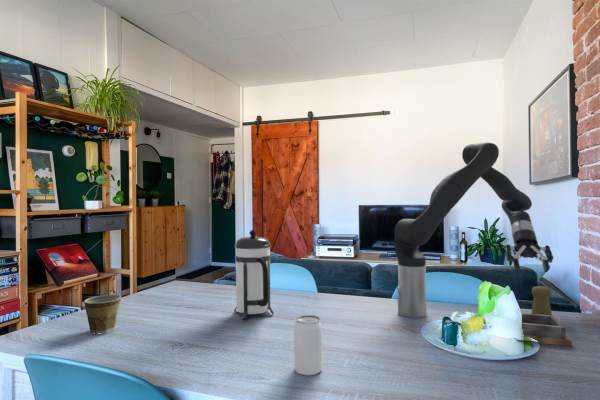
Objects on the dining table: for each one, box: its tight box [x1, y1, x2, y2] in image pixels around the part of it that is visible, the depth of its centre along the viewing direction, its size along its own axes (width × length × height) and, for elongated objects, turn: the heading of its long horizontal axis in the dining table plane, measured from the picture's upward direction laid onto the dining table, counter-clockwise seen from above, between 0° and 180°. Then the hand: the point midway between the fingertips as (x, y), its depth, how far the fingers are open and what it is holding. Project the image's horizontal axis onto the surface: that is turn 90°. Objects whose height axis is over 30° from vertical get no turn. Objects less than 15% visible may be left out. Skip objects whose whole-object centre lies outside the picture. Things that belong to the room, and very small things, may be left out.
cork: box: [530, 285, 553, 316], centre depth 115 cm, size 6×6×11 cm
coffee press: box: [233, 229, 275, 321], centre depth 125 cm, size 17×16×30 cm
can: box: [293, 314, 323, 377], centre depth 83 cm, size 6×6×12 cm
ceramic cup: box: [83, 294, 121, 335], centre depth 112 cm, size 13×10×10 cm
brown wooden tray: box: [521, 312, 573, 347], centre depth 103 cm, size 13×13×4 cm
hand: (532, 270), depth 125 cm, fingers open, 8 cm apart
